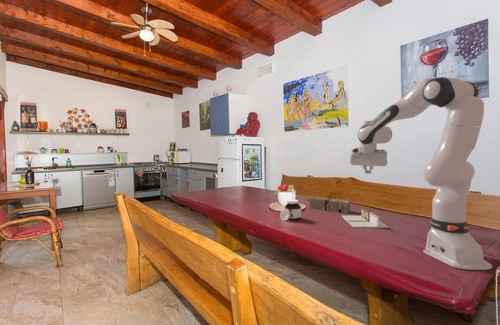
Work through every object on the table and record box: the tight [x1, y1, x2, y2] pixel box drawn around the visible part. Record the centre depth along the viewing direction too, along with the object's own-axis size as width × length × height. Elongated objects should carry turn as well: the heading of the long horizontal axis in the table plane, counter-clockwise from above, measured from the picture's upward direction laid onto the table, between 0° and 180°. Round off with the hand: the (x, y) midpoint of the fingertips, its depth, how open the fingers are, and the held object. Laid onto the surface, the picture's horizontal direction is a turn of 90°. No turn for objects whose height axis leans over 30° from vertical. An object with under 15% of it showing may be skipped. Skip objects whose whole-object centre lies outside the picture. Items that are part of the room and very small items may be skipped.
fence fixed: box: [360, 206, 372, 221], centre depth 161 cm, size 13×2×7 cm, turn 176°
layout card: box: [341, 215, 390, 229], centre depth 157 cm, size 24×19×1 cm
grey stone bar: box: [307, 195, 351, 215], centre depth 188 cm, size 8×8×29 cm
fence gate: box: [370, 211, 381, 227], centre depth 149 cm, size 11×1×5 cm, turn 176°
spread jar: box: [279, 199, 302, 221], centre depth 165 cm, size 12×11×12 cm
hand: (368, 173), depth 152 cm, fingers closed
